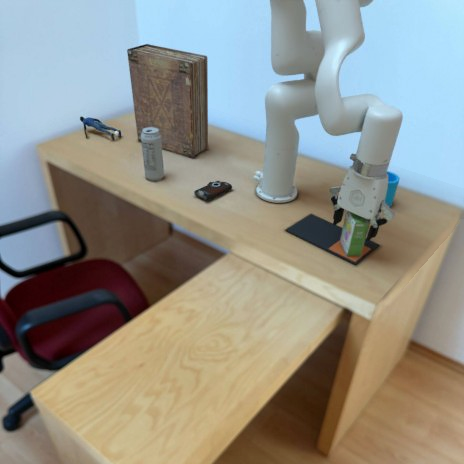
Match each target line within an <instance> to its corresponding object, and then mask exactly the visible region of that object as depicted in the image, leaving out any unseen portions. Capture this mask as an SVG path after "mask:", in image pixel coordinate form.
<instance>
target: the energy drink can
mask: <svg viewBox="0 0 464 464" xmlns="http://www.w3.org/2000/svg"><path fill="white" fill-rule="evenodd" d="M140 143H141V150H142V151H141V152H142V159H143V168H144V176H145V177H146V179H147V180H149V181H151V182H157V181H158V182H159V181H161V180H162V179H163V177H164V176H165V168H164V155H163V149H162V142H161V134H160V133H159V130H158V129H157V128H155V127H147V128H144V129H143V130H142V134H141V142H140Z"/></svg>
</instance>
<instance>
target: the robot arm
mask: <svg viewBox="0 0 464 464" xmlns="http://www.w3.org/2000/svg"><path fill="white" fill-rule="evenodd" d="M314 1H315V6H316V13H317V17H318V23H319V25H320V26H319V27H320V28H319V29H320V30H318V29H312V30H311V29H310V30H307V7H306V4H305V1H304V0H269V5H270V61H271V68H272V70H273V72H274V74H276V75H279V76H282V77H283V76H285V77H286V76H296V75H297V76H298V75H303V79H293V80H287V81H280V82H277V83H275V84H273V85H271V86H270V87H269V88H268V90H267V91H266V93H265V96H264V109H265V122H266V123H265V125H266V126H265V140H264V153H263V154H264V155H263V166H262V171H260V170H256V171H255V173H254V175H253V177H252V178H253V180H254V181H256V182H258V184H257V186H256V189H255V190H256V191H255V193H256V195H257V196H258V197H259V198H260V199H261V200H263V201H266V202H270V203H275V204H283V203H284V204H285V203H289V202H291V201H293V200H295V199H296V198H297V196H298V188H296V187H295V186H294V181H295V175H296V166H297V160H298V152H299V147H300V145H299V144H300V133H299V130H298V128H297V126H296V124H295V123H296V121H297V120H300V119H306V118H310V117H315V116H318V118H319V121H320V124H321V125H322V129H323V130H324V131H325V132H326V133H327V134H328V135H329V136H332V137H340V136H344V135H345V136H346V135H350V134H353V133H360V137H359V141H358V144H357V148H356V152H355V153H351V154H350V156H349V160H351V161H353V162H352V165H350V166H349V167H348V168H347V171H346V174H345V176H344V178H343V181H342V183H341V185H338V186H333V187H331V188H329V190H328V191H329V196H330V201H331V203H332V205H333V208H332V209H333V210H334V212H333V217H332V220H333V222H332V223H333V225H338V224H340V223H341V222H342V221H343V217H344V213H345V211H349V212H351V213H354V214H356V215H358V216H361V217H363V218H365V219H370V220H371V221H370V225H369V228H368V232H367V235H366V239H367V241H369V240H370V241H372V239H375V238H376V237H377V235H378V233H379V231H380V230H379V229H380V227H381V226H383V225H386V224H387V223H388V222H389V221H391V220H392V219H393V218H394V217H395V216H396V213H395V211H394V210H393V209H392V208H391V206H390V207H389V206H388V205H387V204H386V203H385V198H386V193H387V187H388V174H386V173H387V171H389V168H390V167H389V166H390V163H391V159H392V156H393V154H394V150H395V147H396V143H397V140H398V136H399V134H400V130H401V127H402V123H403V118H404V117H403V112H402V111H401V110H400V109H399V108H397V107H396V106H393V105H392V106H391V105H388V104H387V103H386V102H384V101H383V100H382V99H381V98H380V97H379V96H377V95H375V94H373V93H362V94H356V95H355V94H354V95H350V96H349V95H348V96H343V97H342V94H341V89H340V83H339V82H340V81H339V80H340V79H339V78H340V77H339V76H340V72H341V67H342V65H343V63H344V61H345V60H346V58H347V57H348V56H349V55H351V54H352V53H354V52H356V51H357V50H358V49H359V48H361V47H362V46H363V44H364V42H365V39H366V33H365V29H364V23H363V18H362V11H361V8H366V7H368V6H369V5H370V4H372V2H373V1H374V0H314ZM382 212H383V213H384V215H385V216H384V217H383V216H382V215H381V213H382Z"/></svg>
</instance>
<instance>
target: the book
mask: <svg viewBox="0 0 464 464" xmlns="http://www.w3.org/2000/svg"><path fill="white" fill-rule="evenodd" d="M126 53H127V60H128V68H129V76H130V85H131V86H130V87H131V92H132V93H131V94H132V102H133V110H134V119H135V126H136V134H137V141H138V142H140V143H141V134H142V130H143V129H144V128H147V127H155V128H157V129H158V130H159V133H160V134H161V142H162V150H165V151H168V152H172V153H175V154H177V155H181V156H183V157H187V158H190V159H194V158H195V155H197V154H199V153H201V152H202V151H207V150H208V149H209V109H208V108H209V100H208V99H209V98H208V97H209V92H208V91H209V89H208V88H209V87H208V86H209V85H208V79H209V78H208V76H209V75H208V55H204V54H200V53H194V52H191V51H184V50H179V49H175V48H170V47H164V46H160V45H159V46H158V45H154V44H150V43H146V44H142V45H138V46H134V47H131V48H127V50H126Z"/></svg>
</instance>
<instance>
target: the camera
mask: <svg viewBox="0 0 464 464" xmlns="http://www.w3.org/2000/svg"><path fill="white" fill-rule="evenodd" d="M231 190H233V185H232V184H231V183H229V182H226V181H220V180H216V181H209V182H208V184H207V185H203V186H202V187H200V188H198V189H196V190H193V191H194V192H193V193H194V195H195V196H196V197H198V198H200V199H201V200H204V201H209V200H214V199H215V198H217V197H220V196H222V195H224V194H226V193H228V192H229V191H231Z"/></svg>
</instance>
